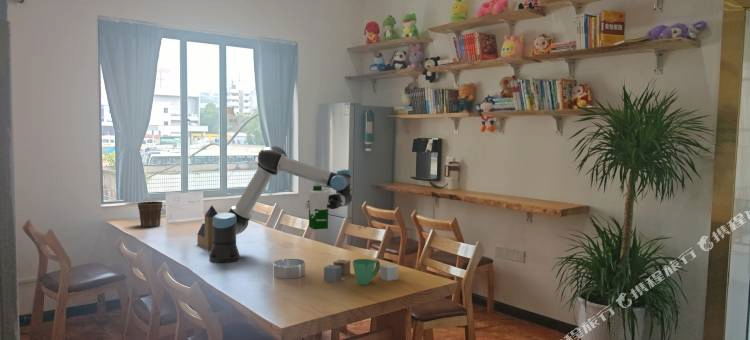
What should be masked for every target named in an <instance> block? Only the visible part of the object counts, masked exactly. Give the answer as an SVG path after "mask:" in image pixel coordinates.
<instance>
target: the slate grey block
mask: <svg viewBox="0 0 750 340" xmlns="http://www.w3.org/2000/svg"><path fill="white" fill-rule="evenodd" d="M342 277H343V276H342V266H337V265H333V264H329V265H327V266H324V267H323V281H326V282H333V283H336V282H338V281H341V280H342V279H343V278H342Z"/></svg>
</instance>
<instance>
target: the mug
mask: <svg viewBox="0 0 750 340" xmlns="http://www.w3.org/2000/svg"><path fill="white" fill-rule="evenodd" d="M380 265H381V263H380V261H379V260H378V259H369V258H357V259H353V261H352V266H353V271H354V276H355V279H356V282H357V284H358V285H360V286H367V285H369V284H370V282H371V281H372V280H373V279H374V278H375V277H376V275H377V274H378V272H380Z"/></svg>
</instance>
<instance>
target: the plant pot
mask: <svg viewBox="0 0 750 340" xmlns="http://www.w3.org/2000/svg"><path fill="white" fill-rule="evenodd" d="M163 203H164V202H163V201H154V200H153V201H142V202H137V208H138V213H139V220H140V227H142V228H150V227H151V228H155V227H159V226H161V215H162V208H163Z"/></svg>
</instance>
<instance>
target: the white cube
mask: <svg viewBox="0 0 750 340" xmlns="http://www.w3.org/2000/svg"><path fill="white" fill-rule="evenodd" d="M379 279H381V280H385V281H387V282H391V281H396V280H397V281H398V280H399V266H397V265H396V264H395V265H394V264H392V263H387V264H380V267H379Z"/></svg>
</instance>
